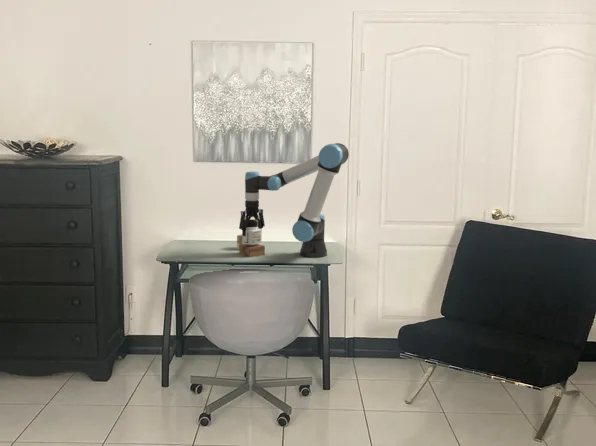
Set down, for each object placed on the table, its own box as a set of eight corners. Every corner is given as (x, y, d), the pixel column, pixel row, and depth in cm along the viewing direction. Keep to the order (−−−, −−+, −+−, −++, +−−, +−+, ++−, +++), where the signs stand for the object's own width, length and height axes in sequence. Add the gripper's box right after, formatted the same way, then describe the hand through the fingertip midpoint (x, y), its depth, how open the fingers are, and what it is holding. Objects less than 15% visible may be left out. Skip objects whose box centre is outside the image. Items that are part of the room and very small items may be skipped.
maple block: (251, 248, 368) (251, 235, 366) (245, 250, 363) (245, 236, 361) (243, 247, 371) (243, 233, 369) (237, 249, 366) (236, 235, 364)
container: (252, 245, 347) (252, 221, 344) (242, 243, 351) (241, 220, 349) (261, 242, 353) (261, 219, 350) (251, 241, 357) (251, 218, 355)
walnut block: (264, 254, 353) (264, 245, 352) (250, 257, 346) (250, 248, 345) (253, 251, 360) (253, 242, 359) (239, 253, 354) (239, 245, 353)
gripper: (263, 197, 357) (263, 237, 361) (232, 200, 344) (232, 241, 348) (271, 199, 352) (271, 239, 356) (240, 202, 338) (240, 244, 342)
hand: (252, 240), depth 352 cm, fingers closed on container, 8 cm apart
